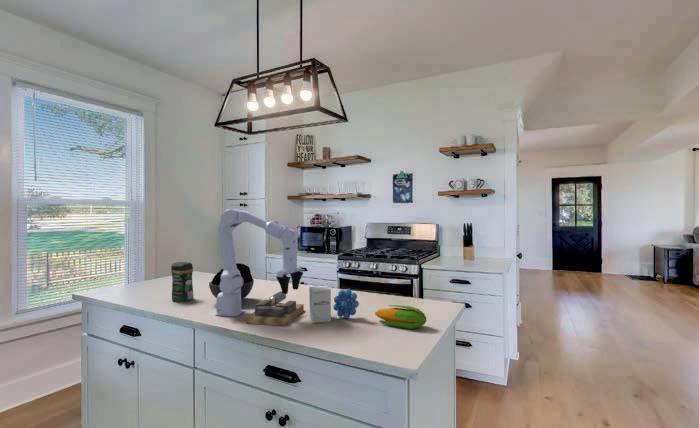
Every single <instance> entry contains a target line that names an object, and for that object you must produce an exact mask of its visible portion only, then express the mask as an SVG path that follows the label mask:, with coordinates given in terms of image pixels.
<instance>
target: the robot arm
mask: <svg viewBox="0 0 699 428" xmlns="http://www.w3.org/2000/svg"><path fill="white" fill-rule="evenodd" d="M219 217H220V219H219V224H218V226H217V234H218V242H219V249H220V250H219V251H220V255H221V263H222V269H223V273H222V275H221V282H220V290H221V291H222V292H220V293H219V294H218V296H217V298H216V313H215V316H219V317H220V316H223V317H238V316H239V315H241V314H243V313H244V312H246V309H242V300H241V287H242V286H243V283H244V281H243V278H242V277H241V275H240V271H239V270H238V269H237V266H236V263H237V259H236V253H235V247H234V238H233V231H234V230H235V229H236V228H237V227H238V226H239V225H240V224H243V223H246V222H247V223H249V224H252V225H254V226H256V227H259V228H261V229H264V231H265V233H266V234H267V235H269V236H272V237H275V238H276V239H279V240H280V241H281V242H282V269H281V270H279V271H277V275H276V280H277V282H278V283H279V287H280V289H281V291H282V293H283V294H286V295H287V294H288V292H289V284H290V281H291V284H292V286H291V288H292V289H293V290H299V287H300V282H301V278H302V276H303V275H304V272H303V270H302V269H303V268H302V266H300V265H298V248H297V244H298V243H297V241H298V238H299V233H298V231H297V230H296V229H294V228H290V227H289V226H288V225H283V224H281V223H279V221H278V220H270V221H267V220H265V219H264V218H262V217H259V216H258V215H256V214H253V213H252V212H249V211H247V210H243V209H242V208H227V209H225V210H224V211H223V212H222V213H221V214H220V216H219ZM288 275H290V276H288Z"/></svg>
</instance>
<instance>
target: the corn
mask: <svg viewBox="0 0 699 428" xmlns="http://www.w3.org/2000/svg"><path fill="white" fill-rule="evenodd" d="M388 307H389V308H380V309H378V310H377V311H375V312H374V315H375V316H376V317H377V318H379V319H382V320H379V321H378V323H381V324H384V325H387V326H391V327H395V328H402V329H410V330H415V329H418V328H422V327H423V326H424V325H425V324H426V322H427V316H426V315H425V313H424V312H423V311H422V310H421V309H419V308H416V307H414V306H410V305H399V304H397V305H396V304H395V305H394V304H393V305H392V304H391V305H390V304H388ZM391 307H392V308H391Z"/></svg>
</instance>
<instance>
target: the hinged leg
mask: <svg viewBox="0 0 699 428" xmlns="http://www.w3.org/2000/svg"><path fill="white" fill-rule="evenodd" d="M285 299H287V294H283V293H282V290H281V291H278V292H276V293H275V294H273V295H271V296H269V297H268V300H272V306H273V305H276V304H278V303H282V302H283V301H284V300H285Z"/></svg>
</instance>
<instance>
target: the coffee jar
mask: <svg viewBox="0 0 699 428" xmlns="http://www.w3.org/2000/svg"><path fill="white" fill-rule="evenodd" d="M170 267H171V268H170V272H171V277H172V278H171V279H172V283H171V285H172V286H171V300H172V301H175V302H186V301H187V302H189V301H191V300H192V299H194V284H193V271H194V268H193V267H194V266H193V263H192V262H187V261H177V262H173V263H172V264H171V266H170Z"/></svg>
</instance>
